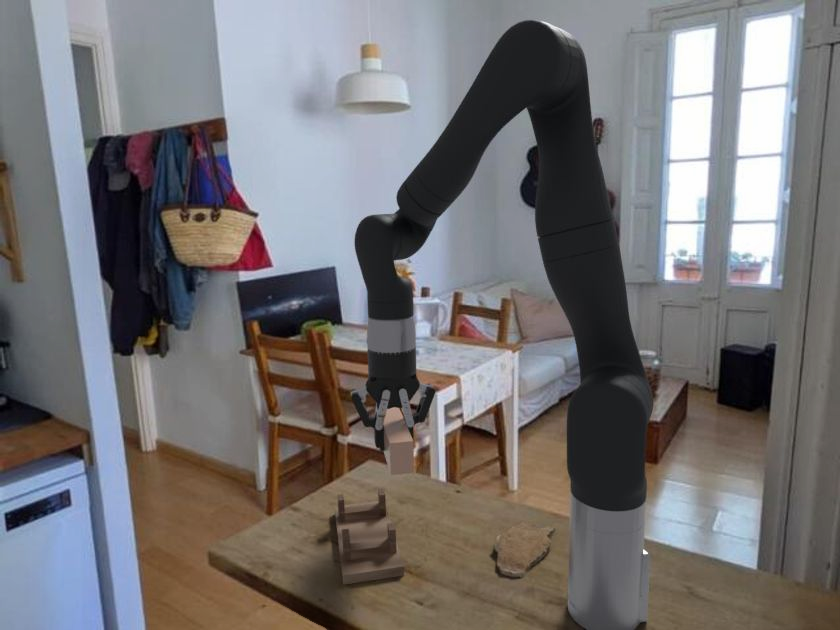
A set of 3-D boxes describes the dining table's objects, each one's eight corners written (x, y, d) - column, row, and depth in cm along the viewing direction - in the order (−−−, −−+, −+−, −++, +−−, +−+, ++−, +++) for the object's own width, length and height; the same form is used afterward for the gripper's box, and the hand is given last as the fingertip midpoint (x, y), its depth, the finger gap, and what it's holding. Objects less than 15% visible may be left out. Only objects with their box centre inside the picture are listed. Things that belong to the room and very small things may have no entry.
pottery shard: (539, 593, 84) (557, 530, 98) (538, 578, 84) (557, 517, 97) (483, 580, 88) (508, 521, 101) (482, 566, 87) (508, 508, 100)
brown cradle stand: (334, 514, 104) (333, 485, 103) (384, 507, 106) (383, 479, 105) (343, 584, 85) (341, 550, 84) (404, 575, 86) (402, 541, 85)
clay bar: (398, 430, 102) (397, 403, 101) (413, 472, 86) (413, 441, 85) (378, 432, 101) (377, 405, 100) (390, 475, 86) (389, 443, 85)
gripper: (347, 353, 85) (352, 462, 89) (441, 347, 88) (442, 453, 91) (344, 341, 93) (348, 442, 96) (431, 336, 95) (432, 435, 99)
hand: (394, 447), depth 94 cm, fingers closed on clay bar, 3 cm apart
